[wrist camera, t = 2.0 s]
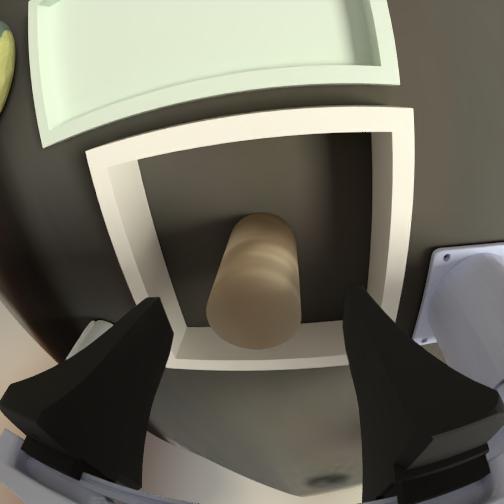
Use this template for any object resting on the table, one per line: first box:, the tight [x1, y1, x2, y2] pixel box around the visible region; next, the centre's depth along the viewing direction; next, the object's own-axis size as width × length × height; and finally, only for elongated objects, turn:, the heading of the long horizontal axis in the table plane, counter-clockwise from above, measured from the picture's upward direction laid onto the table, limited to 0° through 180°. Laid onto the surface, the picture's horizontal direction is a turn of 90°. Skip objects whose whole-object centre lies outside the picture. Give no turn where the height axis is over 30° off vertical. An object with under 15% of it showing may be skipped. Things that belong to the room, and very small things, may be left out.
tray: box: [28, 0, 400, 148], centre depth 9 cm, size 18×10×2 cm, turn 98°
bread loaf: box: [206, 213, 301, 350], centre depth 14 cm, size 4×4×6 cm
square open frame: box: [85, 105, 414, 371], centre depth 15 cm, size 14×14×3 cm
